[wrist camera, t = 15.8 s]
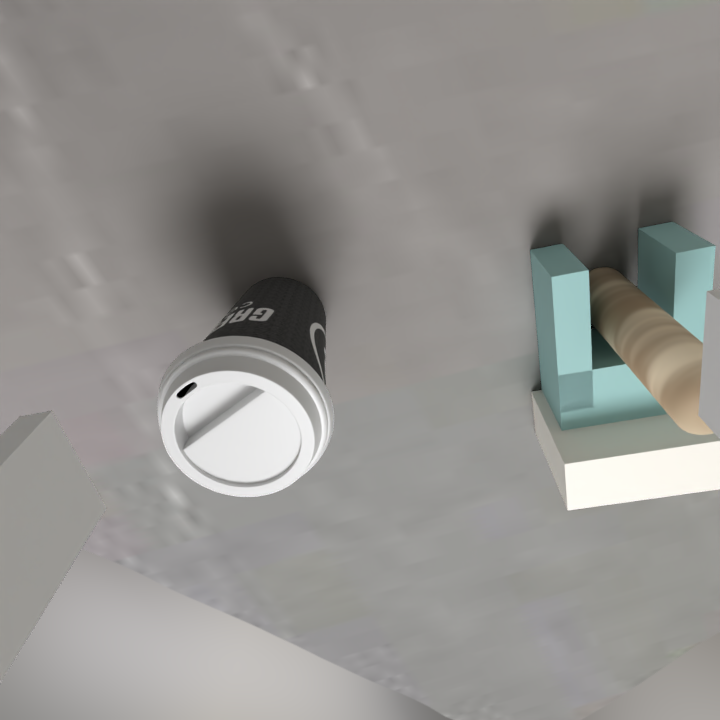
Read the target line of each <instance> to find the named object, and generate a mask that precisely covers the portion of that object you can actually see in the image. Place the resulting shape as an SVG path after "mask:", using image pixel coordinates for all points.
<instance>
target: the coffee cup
mask: <svg viewBox="0 0 720 720" xmlns="http://www.w3.org/2000/svg"><path fill="white" fill-rule="evenodd" d="M157 415H158V423H159V427H160V430H161V435H162V440H163V443H164V446H165V448H166V451H167V452H168V454H169V456H170V458H171V459H172V461H173V462H174V463H175V464H176V466H177V467H178V468H179V469H180V470H181V471H182V472H183V473H184V474H185V475H187V476H188V477H189V478H190V479H192V480H193V481H195V482H196V483H198V484H200V485H202V486H204V487H206V488H208V489H210V490H213V491H215V492H218V493H222V494H226V495H231V496H238V497H256V496H263V495H268V494H272V493H275V492H277V491H280V490H282V489H284V488H286V487H288V486H289V485H291V484H292V483H294V482H295V481H296V480H297V479H298V478H300V477H301V476H302V475H304V474H305V473H306V472H307V471H309V470H310V469H311V468H312V467H313V466H314V465H315V464H316V462H317V461H318V460H319V459H320V457H321V456H322V454H323V453H324V451H325V449H326V448H327V446H328V444H329V442H330V439H331V436H332V432H333V427H334V409H333V404H332V400H331V397H330V394H329V392H328V390H327V388H326V318H325V312H324V308H323V306H322V303H321V302H320V300H319V298H318V297H317V296H316V294H315V293H314V292H313V291H312V290H311V289H309V288H308V287H307V286H305V285H304V284H302V283H300V282H298V281H295V280H292V279H288V278H270V279H266V280H263V281H260V282H258V283H257V284H255V285H254V286H252V287H251V288H250V289H249V290H248V291H247V292H246V293H245V294H244V295H243V297H242V298H241V299H240V300H239V301H238V302H237V303H236V305H235V306H234V307H233V308H232V309H231V310H230V312H229V313H228V314H227V315H226V316H225V317H224V318H223V319H222V321H221V322H220V323H219V324H218V325H217V326H216V327H215V329H214V330H213V331H212V332H211V333H210V334H209V335H208V336H207V338H206V339H205V340H204V341H203V342H201V343H198V344H196V345H194V346H192V347H190V348H189V349H187V350H186V351H184V352H183V353H182V354H180V355H179V356H178V357H177V358H176V359H175V360H174V361H173V362H172V363H171V365H170V366H169V367H168V369H167V371H166V372H165V374H164V376H163V378H162V381H161V384H160V388H159V393H158V400H157Z"/></svg>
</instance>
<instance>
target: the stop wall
mask: <svg viewBox="0 0 720 720" xmlns="http://www.w3.org/2000/svg"><path fill="white" fill-rule="evenodd" d="M531 393H532V403H533V414H534V425H535V433H536V436H537V438H538V441H539V443H540V445H541V448H542V450H543V453H544V455H545V457H546V460H547V462H548V465H549V467H550V469H551V472H552V474H553V477H554V479H555V481H556V484H557V486H558V488H559V491H560V493H561V496H562V498H563V500H564V503H565V505H566V508H567V510H574V509H581V508H588V507H595V506H603V505H610V504H617V503H624V502H631V501H638V500H645V499H653V498H660V497H667V496H674V495H681V494H688V493H695V492H703V491H710V490H717V489H720V439H719V438H718V437H717V436H716V435H715V434H714V433H713V434H707V435H696V434H691V433H688V432H686V431H684V430H682V429H681V428H680V427H679V426H678V425H677V424H676V423H675V422H674V421H673V419H672V418H671V417H670V416H669V415H668V414H664V415H658V416H652V417H645V418H639V419H633V420H626V421H620V422H614V423H607V424H601V425H595V426H588V427H582V428H576V429H569V430H563V431H562V430H561V428H560V426H559V424H558V422H557V420H556V418H555V416H554V414H553V412H552V410H551V408H550V406H549V404H548V402H547V400H546V398H545V395H544V393H543V391H542V390H538V391H532V392H531Z"/></svg>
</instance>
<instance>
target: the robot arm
mask: <svg viewBox="0 0 720 720" xmlns="http://www.w3.org/2000/svg"><path fill="white" fill-rule="evenodd" d="M698 416H699V417H700V418H701V419H702V420H703V421H704V422H705V423H706V425H707V426H708V427H709V428H710V429H711V430H712V431H713V432H714V434H715V435H716V436H717V437H718V438H719V439H720V289H715V290H710V291H707V294H706V309H705V324H704V338H703V353H702V368H701V383H700V398H699V413H698ZM106 508H107V507H106V506H105V504H104V502H103V500H102V498H101V497H100V495H99V493H98V491H97V490H96V488H95V486H94V484H93V482H92V481H91V479H90V477H89V475H88V474H87V472H86V470H85V468H84V466H83V465H82V463H81V461H80V459H79V457H78V456H77V454H76V452H75V450H74V449H73V447H72V445H71V443H70V441H69V440H68V438H67V436H66V434H65V433H64V431H63V429H62V427H61V425H60V424H59V422H58V420H57V418H56V417H55V415H54V413H53V411H47V412H42V413H36V414H31V415H25V416H20V417H19V418H18V419H17V420H16V421H15V422H14V423H13V424H12V425H11V426H10V427H9V428H8V429H7V430H6V431H5V432H4V433H3V434H2V435H1V436H0V683H1V682H2V680H3V678H4V677H5V675H6V673H7V672H8V670H9V669H10V667H11V665H12V664H13V662H14V660H15V658H16V656H17V655H18V654H19V652H20V650H21V649H22V647H23V645H24V644H25V642H26V640H27V639H28V637H29V636H30V634H31V632H32V631H33V629H34V627H35V626H36V624H37V622H38V621H39V619H40V617H41V616H42V614H43V612H44V611H45V609H46V607H47V606H48V604H49V602H50V601H51V599H52V598H53V596H54V594H55V593H56V591H57V589H58V588H59V586H60V584H61V583H62V581H63V579H64V578H65V576H66V574H67V573H68V571H69V570H70V568H71V566H72V565H73V563H74V561H75V560H76V558H77V556H78V555H79V553H80V551H81V550H82V548H83V546H84V545H85V543H86V541H87V540H88V538H89V537H90V535H91V533H92V532H93V530H94V528H95V527H96V525H97V523H98V522H99V520H100V518H101V517H102V515H103V513H104V512H105V510H106Z"/></svg>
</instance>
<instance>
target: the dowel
mask: <svg viewBox="0 0 720 720" xmlns="http://www.w3.org/2000/svg"><path fill="white" fill-rule="evenodd" d="M589 290H590V319H591V323H592V324H593V326H594V327H595V328H596V329H597V330H598V332H599V333H600V334H601V335H602V336H603V337H604V339H605V340H606V341H607V342H608V343H609V345H610V346H611V347H612V348H613V349H614V351H615V352H616V353H617V354H618V355H619V356H620V358H621V359H622V360H623V361H624V362H625V364H626V365H627V366H628V367H629V368H630V370H631V371H632V372H633V373H634V374H635V375H636V377H637V378H638V379H639V380H640V381H641V383H642V384H643V385H644V386H645V387H646V389H647V390H648V391H649V392H650V393H651V395H652V396H653V397H654V398H655V399H656V400H657V402H658V403H659V404H660V405H661V406H662V408H663V409H664V410H665V411H666V412H667V414H668V415H669V416H670V417H671V418H672V419H673V421H674V422H675V423H676V424H677V425H678V426H679V427H680V428H681V429H682V430H684V431H686V432H688V433H691V434H696V435H707V434H713V433H714V432H713V431H712V430H711V429H710V428H709V427H708V426H707V425H706V423H705V422H704V421H703V420H702V419H701V418H700V417H699V416H698V413H699V398H700V383H701V368H702V353H703V343H702V342H701V341H700V340H699V339H697V338H696V337H695V336H694V335H693V334H692V333H690V332H689V331H688V330H687V329H686V328H684V327H683V326H682V325H681V324H680V323H679V322H677V321H676V320H675V319H674V318H673V317H672V316H670V315H669V314H668V313H667V312H666V311H664V310H663V309H662V308H661V307H660V306H659V305H657V304H656V303H655V302H654V301H653V300H651V299H650V298H649V297H648V296H647V295H646V294H644V293H643V292H642V291H641V290H640V289H639V288H637V287H636V286H635V285H634V284H633V283H631V282H630V281H629V280H628V279H627V278H626V277H624V276H623V275H622V274H621V273H620V272H618V271H617V270H615V269H613V268H609V267H600V268H596V269H593V270H591V271H589Z"/></svg>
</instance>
